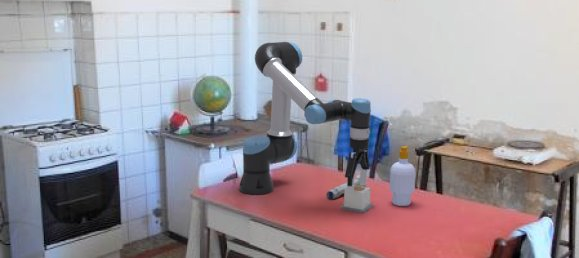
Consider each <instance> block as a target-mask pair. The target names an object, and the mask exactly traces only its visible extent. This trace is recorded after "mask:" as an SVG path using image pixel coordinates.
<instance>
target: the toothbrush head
mask: <svg viewBox="0 0 579 258" xmlns="http://www.w3.org/2000/svg"><path fill="white" fill-rule="evenodd" d="M355 176H356V177H354V185H359V186H363V187H367V184H366V185H361V184H360V174H358V175H357V174H356V175H355ZM345 189H347V181H346V182H344V183H342V184H341V185H338V186H336V187H332V188H331V189H330V190H328V191H327V192H326V198H327V199H328V200H334V199H337V198H339V197H340V196H341V195H344V191H345Z"/></svg>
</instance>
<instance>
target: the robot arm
mask: <svg viewBox="0 0 579 258" xmlns="http://www.w3.org/2000/svg"><path fill="white" fill-rule="evenodd" d="M302 62H303V54H302V50H301V48H300V47H299V45H298V44H296V43H295V42H292V41H279V42H278V41H277V42H276V41H275V42H265V43H263V44H261V45H260V46H259V47H258V48H257V49H256V51H255V54H254V63H255V65H256V67H257V69H258V71H259V72H260V73H261V74H262V75H263V76H264V77H266V78H270V80H272V89H271V92H272V93H271V111H270V113H271V115H270V129H269V130H267V131H266V135H253V136H250V137H248V138H245V140H244V141H243V147H242V159H243V160H242V162H243V163H242V164H243V165H242V168H243V170H242V171H243V172H242V176H241V178H240V182H239V191H240V192H241V193H242V194H247V195H266V194H271V193H272V192H274V186H275V185H274V182H273V179H272V176H271V175H272V174H271V173H270V170H271V169H270V167H271V165H274V164H276V163H280V162H287V161H288V160H292V159H293V157H294V156H295V155H296V154H297V151H298V142H297V141H296V138H295V136H293V132H292V130H291V129H290V126H291V125H290V124H291V109H292V108H291V107H292V105H291V104H292V101H293V102H294V103H295V104H296V105H297V106H298V107H299V108H300V109H301V110H302V111H303V113H304V114H303V115H304V118H305V121H306V122H307V123H308V124H310V125H321V124H323V123H324V124H325V123H329V122H335V121H346V122H350V127H349V137H350V138H349V147H350V148H351V149H352V152H349V153H348V160H347V164H346V170H345V174H344V178H346V182H347V193H349V194H354V179H355V173H356V170H357V168H358V165H360V168H361V169H360V170H359V171H360V172H359V175H360V184H361V185H366V186H367V181H368V180H367V178H368V170H370V164H371V163H370V158H369V149H368V148H369V143H370V142H369V141H370V140H369V137H370V134H371V131H370V124H371V123H370V120H371V113H372V108H371V107H372V105H371V100H369V99H368V98H360V97H359V98H353V99H352V100H351V101H345V100H341V99H330V100H329V101H328V102H323V101H321V100H320V99H319V97H317V96H316V95H315V94H314V93H313V92H312V91H311V90H310V89H309V88H308V87H307V86H306V85H304V83H303V82H302V81H300V80H299V79H298V77H297V76H295V75H297V68H299V67H300V66H301V65H302Z"/></svg>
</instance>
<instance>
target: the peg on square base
mask: <svg viewBox="0 0 579 258" xmlns="http://www.w3.org/2000/svg"><path fill="white" fill-rule="evenodd" d="M354 190H356V191H361V186H359V185H355V186H354ZM373 207H374V203H371V202H370V204H369V205H368V206H367V207H366V208H364V209H363V210H361V209H356V208H350V207H345V206H344V204H342V205H341V206H340V210H343V211H350V212H354V213H355V212H356V213H360V214H365V213H367V212H368V211H369V210H371V209H372V208H373Z"/></svg>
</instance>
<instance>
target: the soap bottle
mask: <svg viewBox="0 0 579 258" xmlns="http://www.w3.org/2000/svg"><path fill="white" fill-rule="evenodd" d="M409 147H410V146H409V145H405V146H400V150H399V152H398V161H397V162H394V163H393V164H392V166H391V168H390V170H389V171H390V172H389V191H390V192H391V193H392V195H391V196H392V197H391V200H392V202H391V203H392V204H393V205H394V206H399V207H407V206H410V205H411V202H412V200H411V199H412V194H413V193H415V187H416V185H415V184H416V168H415V167H414V165H413V164H412V163H410V162H408V161H409V150H408V148H409Z"/></svg>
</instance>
